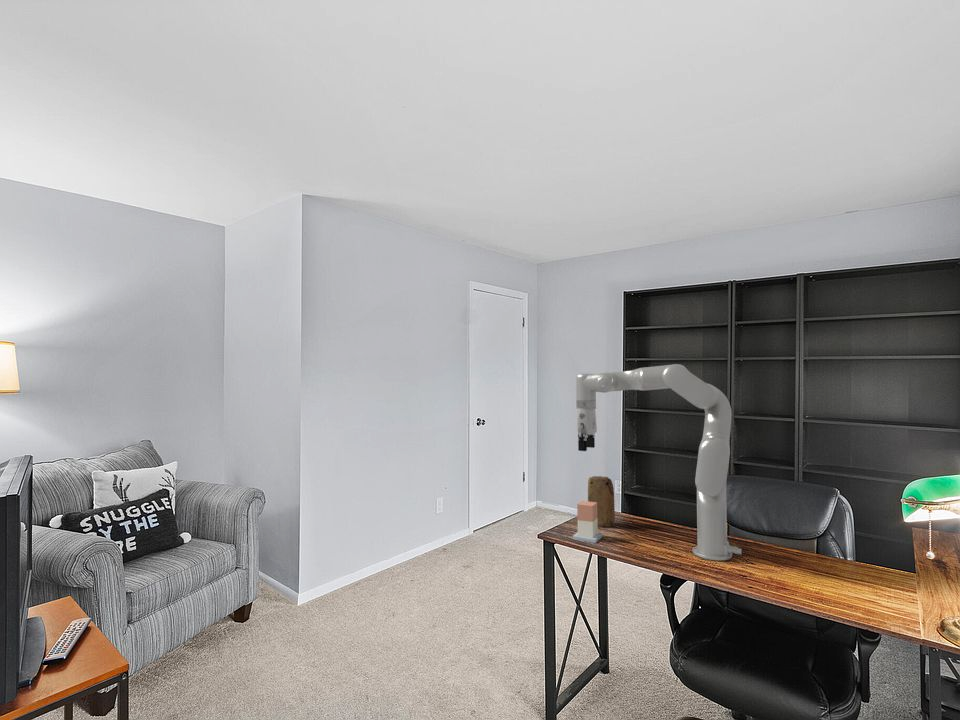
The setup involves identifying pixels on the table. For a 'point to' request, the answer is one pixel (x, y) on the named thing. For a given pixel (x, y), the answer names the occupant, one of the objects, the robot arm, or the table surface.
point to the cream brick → (588, 528)
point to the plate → (587, 538)
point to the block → (602, 499)
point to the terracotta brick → (587, 511)
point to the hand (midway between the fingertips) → (586, 449)
